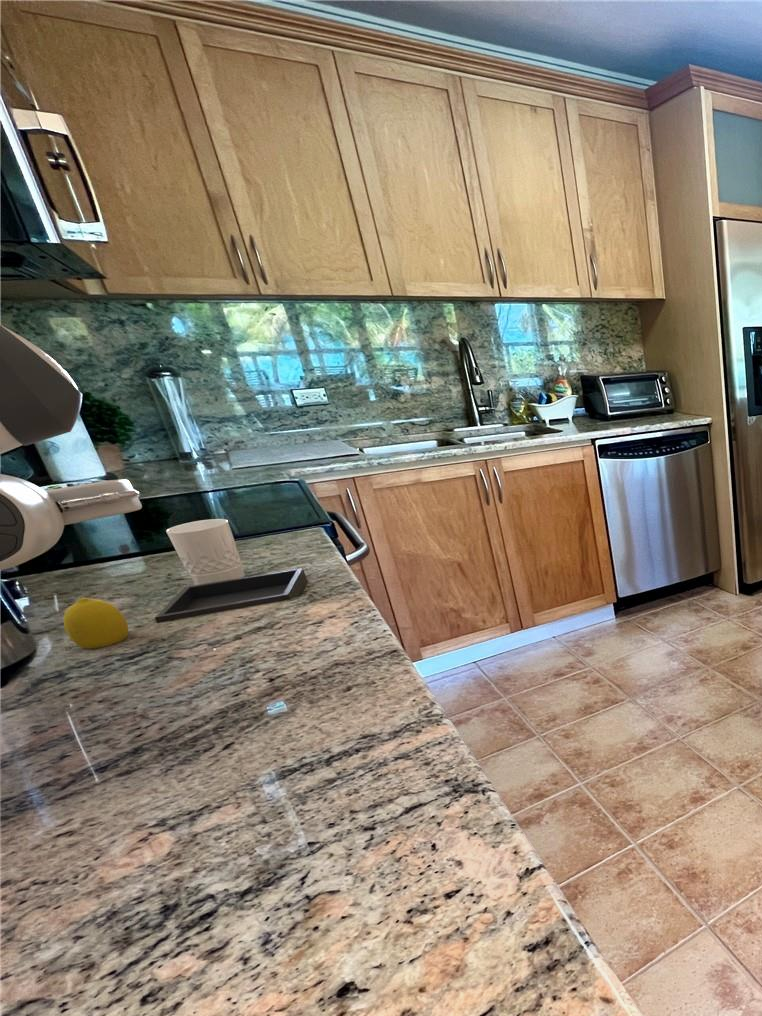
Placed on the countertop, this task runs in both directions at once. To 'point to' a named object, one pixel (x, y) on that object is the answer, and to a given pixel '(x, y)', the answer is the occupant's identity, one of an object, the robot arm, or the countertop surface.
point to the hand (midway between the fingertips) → (16, 515)
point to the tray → (234, 594)
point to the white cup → (207, 550)
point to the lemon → (94, 623)
